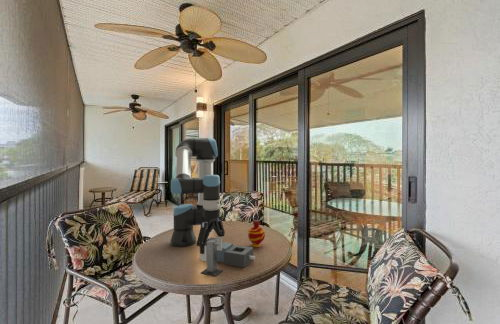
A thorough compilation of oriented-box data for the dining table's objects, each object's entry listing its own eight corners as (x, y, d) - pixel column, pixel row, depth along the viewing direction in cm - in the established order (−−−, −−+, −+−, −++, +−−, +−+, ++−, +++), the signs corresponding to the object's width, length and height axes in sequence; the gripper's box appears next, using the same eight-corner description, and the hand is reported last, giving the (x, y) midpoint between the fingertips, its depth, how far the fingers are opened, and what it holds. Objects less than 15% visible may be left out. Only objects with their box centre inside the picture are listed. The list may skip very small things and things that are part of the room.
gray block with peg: (215, 274, 114) (215, 242, 114) (204, 271, 116) (204, 241, 116) (219, 271, 117) (219, 240, 117) (208, 268, 119) (208, 239, 119)
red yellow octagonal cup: (263, 249, 146) (263, 223, 146) (246, 247, 148) (246, 222, 148) (266, 243, 156) (266, 218, 156) (249, 242, 158) (249, 218, 158)
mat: (200, 273, 115) (200, 272, 115) (207, 268, 121) (207, 267, 121) (215, 276, 112) (215, 275, 112) (222, 271, 118) (222, 270, 118)
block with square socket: (201, 259, 131) (201, 242, 131) (213, 252, 141) (213, 236, 141) (250, 268, 120) (249, 249, 120) (258, 260, 130) (258, 242, 130)
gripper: (202, 215, 103) (203, 267, 103) (231, 204, 126) (231, 247, 126) (187, 213, 106) (188, 264, 106) (218, 203, 129) (218, 245, 129)
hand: (211, 255), depth 116 cm, fingers open, 13 cm apart
